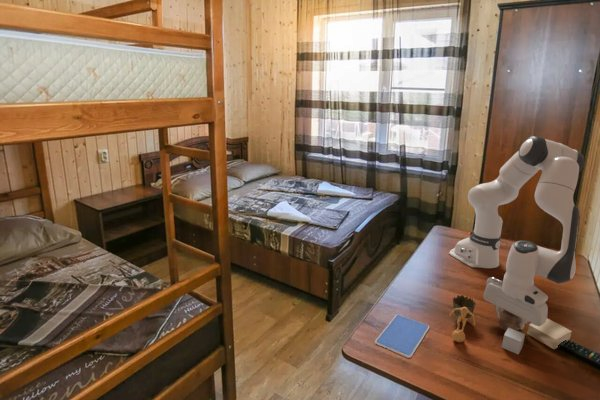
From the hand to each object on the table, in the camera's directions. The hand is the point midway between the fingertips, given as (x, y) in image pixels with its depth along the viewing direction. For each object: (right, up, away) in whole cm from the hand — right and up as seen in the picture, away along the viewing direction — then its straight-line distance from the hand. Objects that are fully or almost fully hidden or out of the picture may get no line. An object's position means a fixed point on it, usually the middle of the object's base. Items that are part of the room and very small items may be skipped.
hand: (510, 322), depth 134 cm
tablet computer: (-38, -4, -3) cm, 39 cm away
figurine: (-20, -4, -5) cm, 21 cm away
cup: (-15, -1, +5) cm, 16 cm away
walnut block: (0, -2, +1) cm, 2 cm away
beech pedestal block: (+10, -4, -4) cm, 12 cm away
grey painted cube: (-4, -5, -9) cm, 11 cm away
